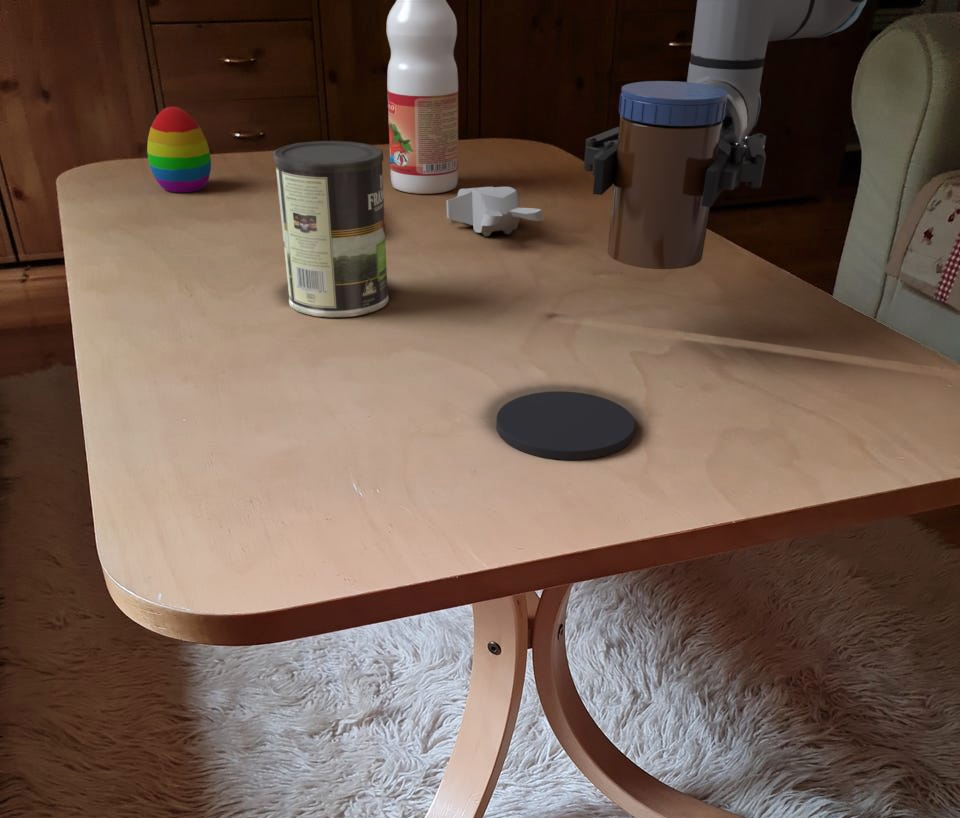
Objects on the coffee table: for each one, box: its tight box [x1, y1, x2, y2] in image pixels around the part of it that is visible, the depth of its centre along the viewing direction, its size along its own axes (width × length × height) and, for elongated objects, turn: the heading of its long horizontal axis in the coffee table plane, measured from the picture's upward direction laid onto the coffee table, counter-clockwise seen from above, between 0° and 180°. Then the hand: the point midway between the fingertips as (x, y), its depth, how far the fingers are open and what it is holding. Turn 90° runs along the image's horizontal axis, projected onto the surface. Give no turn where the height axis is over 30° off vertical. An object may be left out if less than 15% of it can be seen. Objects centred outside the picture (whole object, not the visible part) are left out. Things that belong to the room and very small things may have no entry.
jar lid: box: [618, 80, 728, 126], centre depth 83 cm, size 9×9×2 cm
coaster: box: [495, 390, 636, 461], centre depth 80 cm, size 11×11×1 cm
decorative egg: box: [146, 106, 212, 193], centre depth 136 cm, size 8×8×10 cm
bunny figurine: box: [445, 185, 545, 237], centre depth 123 cm, size 10×5×15 cm
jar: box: [607, 115, 722, 270], centre depth 86 cm, size 8×8×13 cm
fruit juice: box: [385, 0, 459, 195], centre depth 133 cm, size 9×9×28 cm
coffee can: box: [272, 140, 390, 318], centre depth 99 cm, size 10×10×14 cm
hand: (653, 182), depth 82 cm, fingers closed on jar, 8 cm apart
